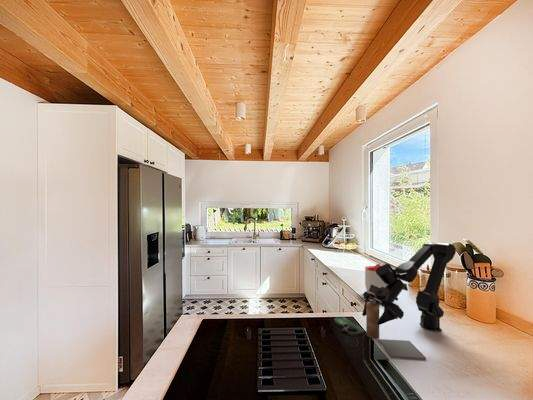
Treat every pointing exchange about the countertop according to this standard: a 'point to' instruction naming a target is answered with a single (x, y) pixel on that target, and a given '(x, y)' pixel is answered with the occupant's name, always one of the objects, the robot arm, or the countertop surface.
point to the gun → (348, 326)
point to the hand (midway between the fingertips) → (370, 319)
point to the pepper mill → (372, 319)
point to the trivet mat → (401, 349)
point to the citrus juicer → (373, 278)
